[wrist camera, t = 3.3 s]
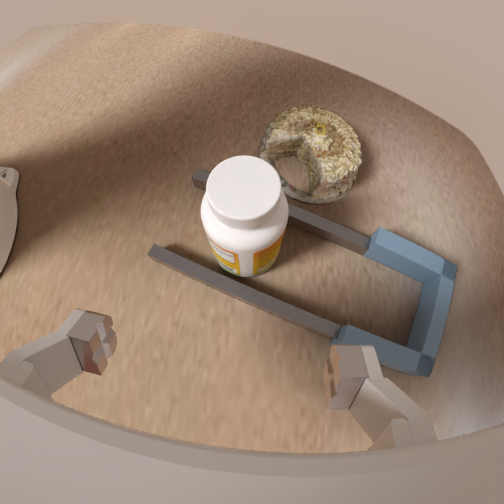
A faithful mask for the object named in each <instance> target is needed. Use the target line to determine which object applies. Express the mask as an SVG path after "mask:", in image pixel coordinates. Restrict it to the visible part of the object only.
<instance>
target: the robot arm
mask: <svg viewBox="0 0 504 504" xmlns="http://www.w3.org/2000/svg"><path fill="white" fill-rule="evenodd" d="M18 180H19V172H18V171H17V170H15V169H14V168H8V167H0V273H1V271H2V269H3V267H4V265H5V263H6V261H7V259H8V256H9V253H10V250H11V247H12V244H13V241H14V236H15V232H16V226H17V202H16V189H17V185H18ZM112 325H113V322H112V318H111V317H110V316H108V315H104V314H100V313H96V312H92V311H87V310H83V309H80V308H77V309H75V310H74V311H73V312H72V313H71V314H70V316H69V317H68V318H67V319H66V321H65V322H64V323H63V324H62V326H61V327H60V328H59V329H58V331H57V332H56V333H55V332H52V333H50V334H48V335H45V336H43V337H41V338H39V339H37V340H35V341H32V342H30V343H28V344H26V345H24V346H22V347H19V348H17V349H15V350H13V351H11V352H9V353H8V354H7V355H6V357H5V358H4V359H3V361H2V362H1V363H0V504H504V424H500V425H497V426H494V427H491V428H488V429H484V430H481V431H477V432H474V433H470V434H466V435H462V436H458V437H454V438H449V439H445V440H440V441H437V437H436V434H435V431H434V428H433V425H432V421H431V418H430V415H429V414H428V413H427V412H426V411H425V410H424V409H422V408H421V407H420V406H419V405H418V404H417V403H416V402H414V401H413V400H412V399H411V398H410V397H409V396H408V395H406V394H405V393H404V392H403V391H402V390H401V389H400V388H398V387H397V386H396V385H395V384H394V383H393V382H392V381H390V380H389V379H388V378H384V377H383V374H382V370H381V367H380V364H379V361H378V358H377V355H376V352H375V349H374V347H373V346H372V345H338V344H333V345H332V347H331V349H330V352H329V353H330V358H329V359H328V360H327V361H326V364H325V367H324V373H323V381H324V385H325V387H326V388H327V391H326V393H325V399H326V407H327V409H349V411H350V413H351V414H352V415H353V417H354V418H355V419H356V420H357V422H358V423H359V424H360V425H361V427H362V428H363V429H364V431H365V432H366V433H367V434H368V436H369V437H370V438H371V439H372V441H373V442H374V443H373V445H372V446H371V447H370V448H369V449H368V451H359V452H342V453H285V452H267V451H254V450H244V449H235V448H226V447H219V446H212V445H206V444H200V443H194V442H188V441H183V440H178V439H173V438H168V437H164V436H160V435H155V434H151V433H147V432H143V431H139V430H136V429H132V428H128V427H125V426H121V425H118V424H115V423H112V422H108V421H105V420H102V419H99V418H96V417H93V416H90V415H88V414H85V413H82V412H79V411H77V410H74V409H72V408H69V407H66V406H64V405H61V404H59V403H57V402H55V401H54V400H53V398H52V396H51V394H52V393H54V392H55V391H57V390H58V389H59V388H61V387H62V386H64V385H65V384H67V383H68V382H69V381H71V380H72V379H74V378H75V377H77V376H78V375H79V374H81V373H82V372H83V371H86V372H89V373H93V374H96V375H100V376H101V375H102V374H103V372H104V370H105V368H106V366H107V364H108V362H107V358H109V357H111V356H112V355H113V353H114V352H115V349H116V345H117V337H116V333H115V332H114V331H113V329H112V328H111V327H112Z"/></svg>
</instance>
